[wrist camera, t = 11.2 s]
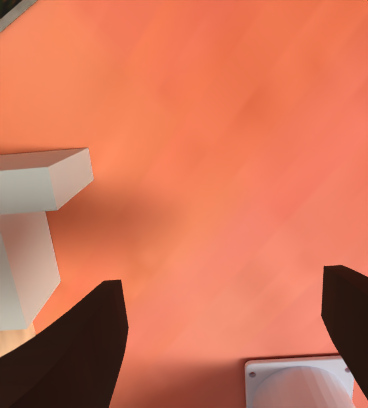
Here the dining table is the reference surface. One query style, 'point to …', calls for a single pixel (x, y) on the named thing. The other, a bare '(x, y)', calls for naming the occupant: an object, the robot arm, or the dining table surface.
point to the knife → (12, 10)
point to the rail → (15, 338)
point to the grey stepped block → (33, 227)
